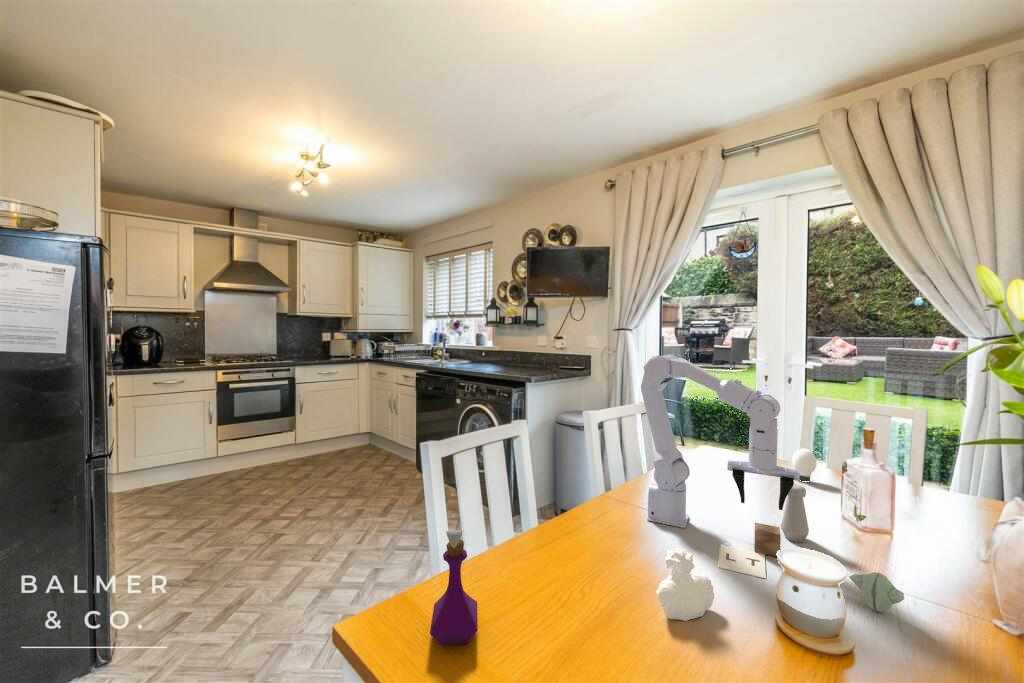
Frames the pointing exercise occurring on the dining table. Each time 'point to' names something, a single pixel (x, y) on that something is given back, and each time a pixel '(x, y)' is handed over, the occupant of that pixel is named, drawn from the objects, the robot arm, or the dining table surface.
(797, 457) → the light bulb
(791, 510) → the salt shaker
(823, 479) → the dining table surface
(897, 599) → the green seashell
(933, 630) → the dining table surface
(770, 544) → the block
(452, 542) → the perfume bottle
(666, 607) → the bust
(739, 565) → the label tile
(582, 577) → the dining table surface
